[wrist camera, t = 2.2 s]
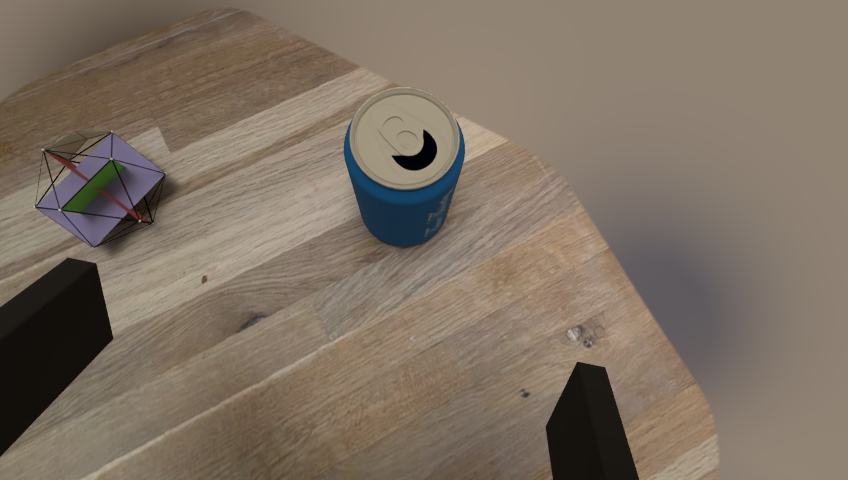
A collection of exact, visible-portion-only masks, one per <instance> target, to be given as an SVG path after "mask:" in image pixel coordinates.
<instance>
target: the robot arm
mask: <svg viewBox="0 0 848 480" xmlns="http://www.w3.org/2000/svg"><path fill="white" fill-rule="evenodd" d="M112 340H113V335H112V330H111V326H110V322H109V317H108V313H107V308H106V304H105V300H104V295H103V291H102V287H101V282H100V278H99V273H98V269H97V265H96V263H91V262H87V261H82V260H77V259H72V258H67V259H66V260H64V261H63V262H61V263H60V264H59V265H57V266H56V267H55V268H53V269H52V270H51V271H49V272H48V273H46V274H45V275H44V276H42V277H41V278H40V279H38V280H37V281H36V282H34V283H33V284H31V285H30V286H29V287H27V288H26V289H25V290H23V291H22V292H21V293H19V294H18V295H16V296H15V297H14V298H12V299H11V300H10V301H8V302H7V303H6V304H4V305H3V306H1V307H0V457H1V456H2V454H3V453H4V452H5V451H6V450H7V449H8V448H9V447H10V446H11V445H12V444H13V443H14V442H15V441H16V440H17V439H18V438H19V437H20V436H21V435H22V434H23V433H24V431H25V430H26V429H27V428H28V427H29V426H30V425H31V424H32V423H33V422H34V421H35V420H36V419H37V418H38V417H39V416H40V415H41V414H42V413H43V412H44V411H45V410H46V409H47V407H48V406H49V405H50V404H51V403H52V402H53V401H54V400H55V399H56V398H57V397H58V396H59V395H60V394H61V393H62V392H63V391H64V390H65V389H66V388H67V387H68V386H69V385H70V383H71V382H72V381H73V380H74V379H75V378H76V377H77V376H78V375H79V374H80V373H81V372H82V371H83V370H84V369H85V368H86V367H87V366H88V365H89V364H90V363H91V362H92V360H93V359H94V358H95V357H96V356H97V355H98V354H99V353H100V352H101V351H102V350H103V349H104V348H105V347H106V346H107V345H108V344H109V343H110V342H111V341H112ZM546 433H547V440H548V447H549V454H550V461H551V469H552V476H553V480H639V477H638V474H637V471H636V467H635V464H634V461H633V457H632V454H631V451H630V448H629V444H628V441H627V438H626V434H625V431H624V428H623V424H622V421H621V418H620V415H619V411H618V408H617V405H616V401H615V398H614V395H613V391H612V388H611V385H610V382H609V378H608V375H607V372H606V368H605V367H600V366H596V365H591V364H586V363H581V362H577V363H576V365H575V367H574V370H573V372H572V374H571V376H570V378H569V380H568V382H567V384H566V386H565V388H564V390H563V392H562V394H561V396H560V398H559V400H558V402H557V404H556V407H555V409H554V411H553V413H552V415H551V417H550V419H549V421H548V423H547V425H546Z"/></svg>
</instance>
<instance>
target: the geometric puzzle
mask: <svg viewBox="0 0 848 480" xmlns="http://www.w3.org/2000/svg"><path fill="white" fill-rule="evenodd" d="M108 133H109V134H108ZM104 134H108V135H109V136H108V135H106V136H105V137H107V136H108V137H107V138H106V139H105V140H104V141H103V142H102V143H101V144H100V145H99V146H97V147H96V148H95V149H94V150H93V151H92V152H91V153H90V154H89V155H82V154H81V153H82V152H84V151H85V150H87V149H88V148H90V147H91V146H93V145H94V144H96V143H98V142H99V141H101V140H102V139H104V138H105V137H103V138H102V139H100V140H99V141H97V142H96V143H94V144H93V145H91V146H89V147H88V148H86V149H85V150H83V151H82V152H80V153H79V154H75V153H76V152H77V151H78V149H79V148H80V147H81V146H82V145H83V144H84V143H85V142H86V141H87V139H90V138H93V137H97V136H100V135H104ZM46 149H48V150H46ZM42 151H43V152H44V151H46V152H47V153H48V154H50V155H51V156H52V157H54V158H55V159H56V160H58V161H59V162H61V163H62V164H63V165H65V166H66V167H67V168H69V169H70V170H71V171H72V172H71V173H70V174H69V175H68V176H67V177H66V178H65V179H64V180H63V181H62V182H61V183H60V184H59V185H58V186H56V187H55V188H54V184H53V183H54V182H55V180H56V179H57V177H58V176H59V175H60V173H61V172H62V170H63V169H64V168H65V166H64V167H63V169H62V170H61V171H60V173H59V174H58V176H57V177H56V178H55V180H54V181H52V177H51V174H50V170H49V166H48V163H47V159H46V155H45V152H44V156H45V160H46V163H47V167H48V170H49V174H50V178H51V181H52V184H51V185H50V187H51V186H52V185H53V190H52V191H51V192H50V193H49V194H48V195H47V196H46V197H45V198H44V199H43V197H44V196H45V194H46V193H47V192H48V190H49V189H50V187H49V188H48V190H47V191H46V192H45V194H44V195H43V197H42V198H41V199H40V201H41V200H42V199H43V200H42V201H41V202H40V201H39V202H38V204H37V205H36V204H35V206H34V208H37V209H38V210H39V211H41V212H42V213H44V214H45V215H47V216H48V217H49V218H51V219H52V220H54V221H55V222H57V223H58V224H60V225H61V226H62V227H64V228H65V229H67V230H68V231H70V232H71V233H72V234H74V235H75V236H77V237H78V238H80V239H81V240H82V241H84V242H85V243H87V244H88V245H90V246H91V247H92V249H94V248H95V247H98V246H100V244H101V245H102V243H103V242H105V241H107V240H109V239H110V238H112V237H114V236H115V235H117V234H119V233H121V232H122V231H124V230H126V229H127V228H129V227H131V226H132V225H134V224H136V223H138V222H143V223H150V224H154V222H153V221H154V220H152V217H151V214H150V211H149V207H148V206H149V204H150V202H151V200H152V198H153V197H154V195H155V193H156V191H157V189H158V187H159V185H160V184H161V182H162V180H163V178H165V174H167V173H166V172H163V171H162V170H161V169H159V168H158V167H157V166H156V165H154V164H153V163H152V162H150V161H149V160H148V159H146V158H145V157H144V156H143V155H141V154H140V153H139V152H137V151H136V150H135V149H134V148H132V147H131V146H130V145H128V144H127V143H126V142H125V141H123V140H122V139H121V138H119V137H118V136H117V135H116V134H114V132H113V131H111V132H84V131H75V132H72V133H70V134H67V135H65V136H62V137H60V138H59V139H58V140H57V141H56V142H55V143H54V144H52V145H51V146H49V147H47V148H45V149H42ZM49 151H52V152H54V153H56V154H57V155H56V154H54V153H51V152H49ZM58 155H59V156H58ZM73 155H76V156H78V155H82V156H87V157H86V158H85V159H84V160H83V161H82V162H75V161H70V160H71V159H73V158H74V157H76V156H74V157H73V158H71V157H72V156H73ZM42 157H43V155H42ZM70 158H71V159H70ZM69 159H70V160H69ZM71 162H74V163H80V164H79V165H78V166H77V167H76V166H75V165H74V164H72V163H71ZM41 164H42V162H41ZM40 171H41V169H40ZM162 177H163V178H162ZM39 178H40V176H39ZM161 178H162V180H161V182H160V183H159V185H158V187H157V189H156V191H155V193H154V194H153V196H152V198H151V200H150V202H149V204H147V201H146V198H145V194H146V193H147V192H148V191H149V190H150V189H151V188H152V187H153V186H154V185H155V184H156V183H157V182H158V181H159V180H160V179H161ZM163 182H164V180H163ZM38 185H39V183H38ZM162 186H163V184H162ZM161 190H162V188H161ZM37 193H38V190H37ZM160 194H161V192H160ZM143 196H144V199H145V202H146V206H147V207H146V209H145V211H146V210H147V209H148V212H149V215H150V218H151V221H152V222H151V221H149V220H148V219H147V218H145V217H144V216H143V215H144V213H145V211H144V213H143V215H141V214H140V213H138V212H137V211H136V209H135V207H134V206H135V205H136V204H137V203H138V202H139V201H140V200H141V199H142V197H143ZM159 198H160V196H159ZM36 200H37V197H36ZM158 202H159V200H158ZM157 206H158V204H157ZM156 210H157V208H156ZM128 212H129V213H130V214H131V215H133V216H134V217H135V218H137V219H138V220H135V219H128V218H123V217H124V216H125V215H126V214H127V213H128ZM155 214H156V212H155ZM154 218H155V216H154ZM120 220H127V221H135V222H136V223H134V224H132V225H131V226H129V227H127V228H126V229H124V230H122V231H120V232H119V233H117V234H115V235H114V236H112V237H110V238H108V239H107V240H105V241H103V242H102V243H100V244H98V243H99V242H100V241H101V240H102V239H103V238H104V237H105V236H106V235H107V234H108V233H109V232H110V231H111V230H112V229H113V227H114V226H115V225H116V224H117V223H118V222H119V221H120ZM150 224H149V225H150ZM146 226H148V225H146ZM144 227H145V226H144ZM141 228H143V227H141ZM141 228H139V229H141ZM137 230H138V229H137ZM134 231H136V230H134ZM132 232H133V231H132ZM129 233H131V232H129ZM129 233H127V234H129ZM125 235H126V234H125ZM122 236H124V235H122ZM120 237H121V236H120ZM118 238H119V237H118ZM115 239H117V238H115ZM113 240H114V239H113ZM110 241H112V240H110ZM110 241H108V242H110ZM106 243H107V242H106ZM97 244H98V245H97ZM103 244H105V243H103ZM96 245H97V246H96Z"/></svg>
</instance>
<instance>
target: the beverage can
mask: <svg viewBox="0 0 848 480" xmlns="http://www.w3.org/2000/svg"><path fill="white" fill-rule="evenodd" d="M464 155H465V144H464V138H463V134H462V131H461V129H460V126H459V124H458V122H457V121H456V119H455V118H454V116H453V114H452V112H451V111H450V109H449V108H448V107H447V106H446V105H445V104H444V103H443V102H442V101H441V100H440V99H438V98H437V97H435V96H434V95H432V94H430V93H428V92H426V91H423V90H420V89H416V88H409V87H398V88H391V89H387V90H384V91H381V92H379V93H377V94H375V95H374V96H372V97H371V98H369V99H368V100H367V101H366V102H365V103H363V105H362V106H361V107H360V108H359V110H358V111H357V113H356V114H355V116H354V118H353V120H352V121H351V123H350V125H349V127H348V130H347V133H346V136H345V141H344V156H345V161H346V165H347V168H348V172H349V175H350V178H351V182H352V185H353V188H354V192H355V195H356V199H357V202H358V205H359V209H360V212H361V215H362V218H363V221H364V223H365V225H366V226H367V228H368V229H369V230H370V232H371V233H372V234H374V235H375V236H376V237H377V238H379V239H380V240H382V241H384V242H386V243H388V244H391V245H395V246H413V245H417V244H420V243H422V242H424V241H426V240H428V239H430V238H431V237H432V236H433V235H435V234H436V233H437V232H438V230H439V229H440V228H441V226H442V224H443V223H444V220H445V218H446V215H447V212H448V209H449V206H450V203H451V199H452V196H453V193H454V190H455V187H456V184H457V181H458V178H459V175H460V172H461V169H462V165H463V161H464Z"/></svg>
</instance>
